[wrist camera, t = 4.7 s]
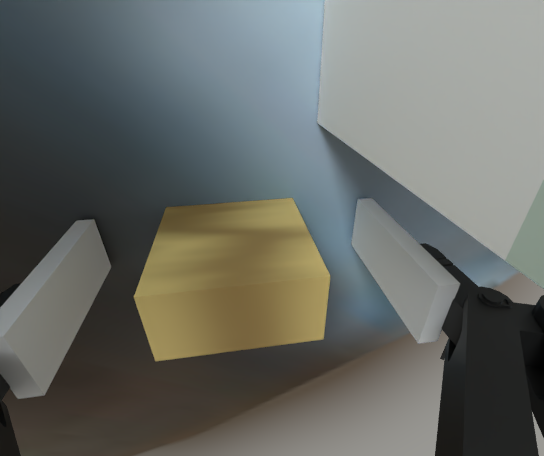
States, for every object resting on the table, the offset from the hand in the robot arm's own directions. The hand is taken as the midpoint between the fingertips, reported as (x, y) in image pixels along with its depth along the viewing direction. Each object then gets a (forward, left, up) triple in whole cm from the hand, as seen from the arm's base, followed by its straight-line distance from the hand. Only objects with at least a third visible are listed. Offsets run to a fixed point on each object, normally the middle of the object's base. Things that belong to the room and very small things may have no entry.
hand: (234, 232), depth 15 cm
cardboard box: (0, 0, 0) cm, 0 cm away
